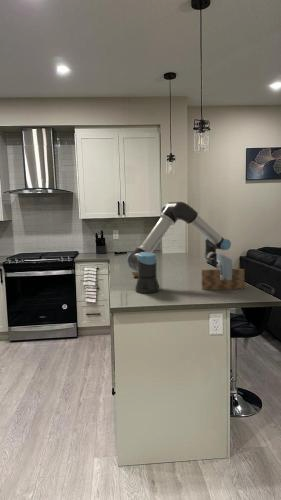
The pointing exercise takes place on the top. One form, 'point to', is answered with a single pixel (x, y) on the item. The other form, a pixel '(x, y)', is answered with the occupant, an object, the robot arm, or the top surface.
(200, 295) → the top surface
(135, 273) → the vase
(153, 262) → the robot arm
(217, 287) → the brown wooden panel
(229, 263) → the slate plate
